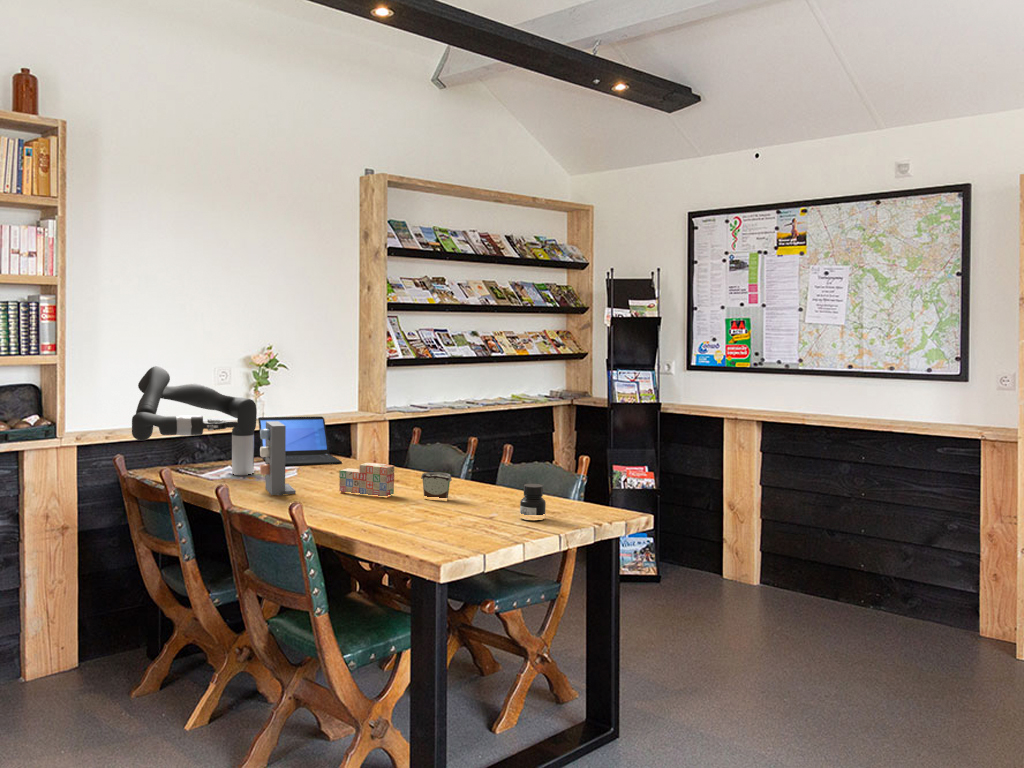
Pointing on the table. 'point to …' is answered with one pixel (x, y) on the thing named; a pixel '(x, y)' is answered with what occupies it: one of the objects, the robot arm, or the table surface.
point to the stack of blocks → (368, 479)
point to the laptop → (303, 440)
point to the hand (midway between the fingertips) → (236, 424)
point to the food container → (436, 484)
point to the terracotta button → (265, 469)
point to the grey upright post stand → (277, 460)
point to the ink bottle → (533, 500)
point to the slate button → (265, 433)
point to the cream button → (265, 451)
